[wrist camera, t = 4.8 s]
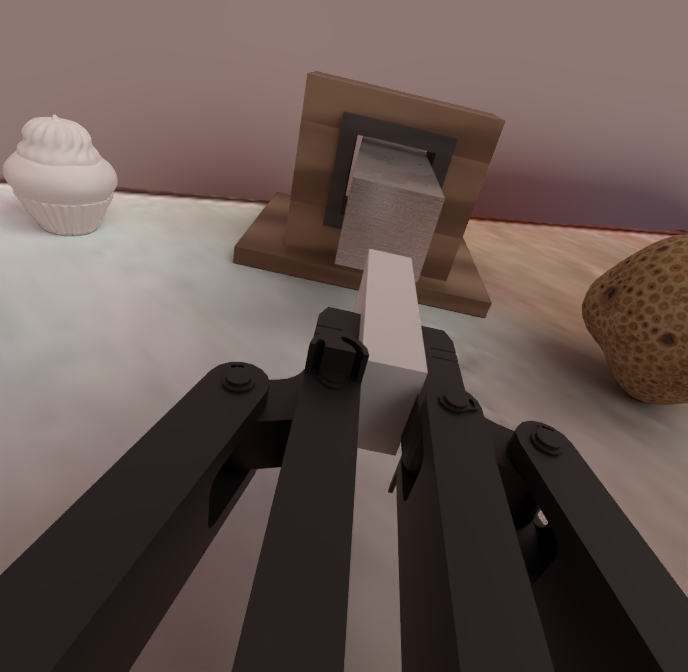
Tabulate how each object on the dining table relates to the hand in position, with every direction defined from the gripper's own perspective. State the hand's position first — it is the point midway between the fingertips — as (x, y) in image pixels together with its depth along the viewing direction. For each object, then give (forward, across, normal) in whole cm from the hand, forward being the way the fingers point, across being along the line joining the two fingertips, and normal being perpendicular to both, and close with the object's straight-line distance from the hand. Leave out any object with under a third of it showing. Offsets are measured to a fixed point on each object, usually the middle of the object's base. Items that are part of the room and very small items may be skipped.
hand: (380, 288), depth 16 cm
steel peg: (+17, 0, -2) cm, 17 cm away
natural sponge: (+8, +17, -7) cm, 20 cm away
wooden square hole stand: (+20, 0, -7) cm, 21 cm away
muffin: (+13, -20, -7) cm, 25 cm away
